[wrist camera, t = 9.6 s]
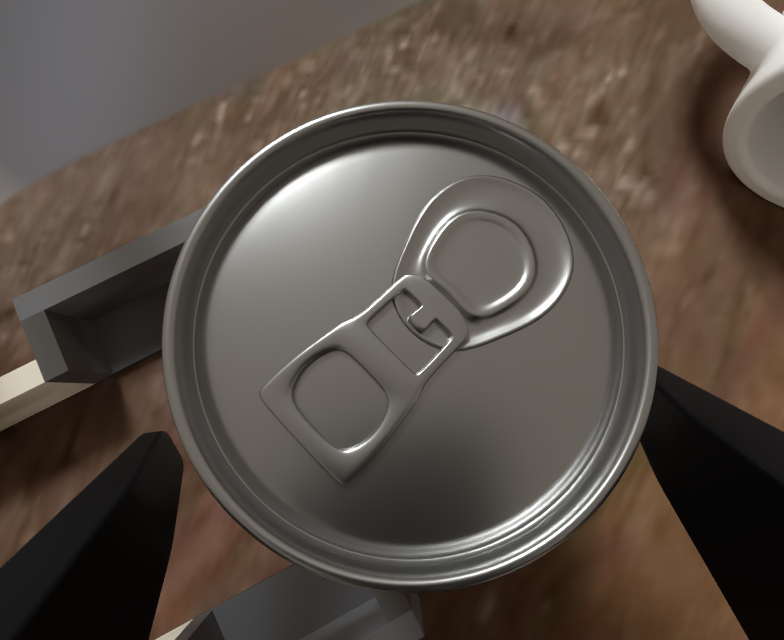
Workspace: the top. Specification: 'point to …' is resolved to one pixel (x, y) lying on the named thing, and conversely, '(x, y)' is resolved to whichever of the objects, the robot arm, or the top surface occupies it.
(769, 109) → the mug
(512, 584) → the top surface
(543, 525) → the can
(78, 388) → the channel
